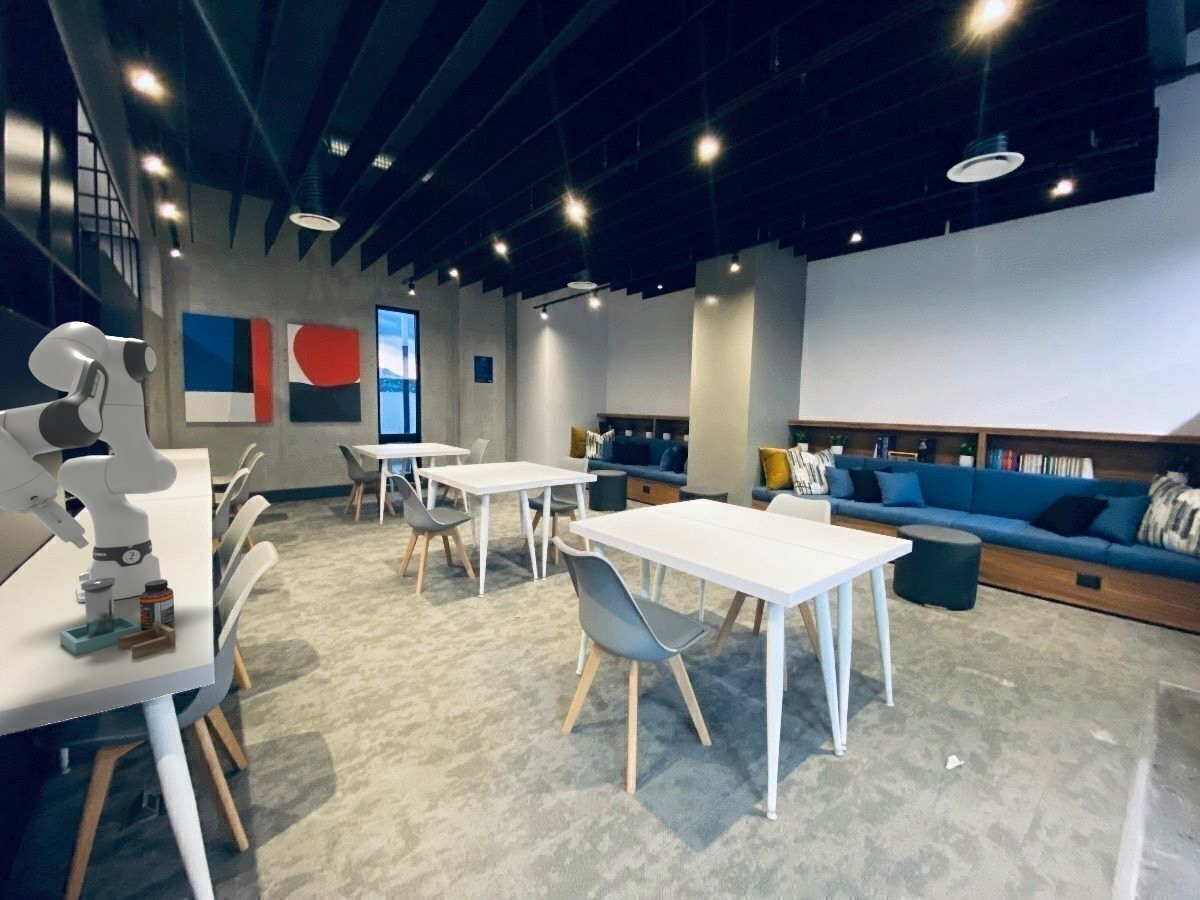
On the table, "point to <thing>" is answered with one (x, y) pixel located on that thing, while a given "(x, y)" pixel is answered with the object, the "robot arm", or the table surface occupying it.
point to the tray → (80, 644)
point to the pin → (99, 606)
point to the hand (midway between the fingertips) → (74, 537)
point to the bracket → (149, 640)
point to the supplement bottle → (156, 604)
